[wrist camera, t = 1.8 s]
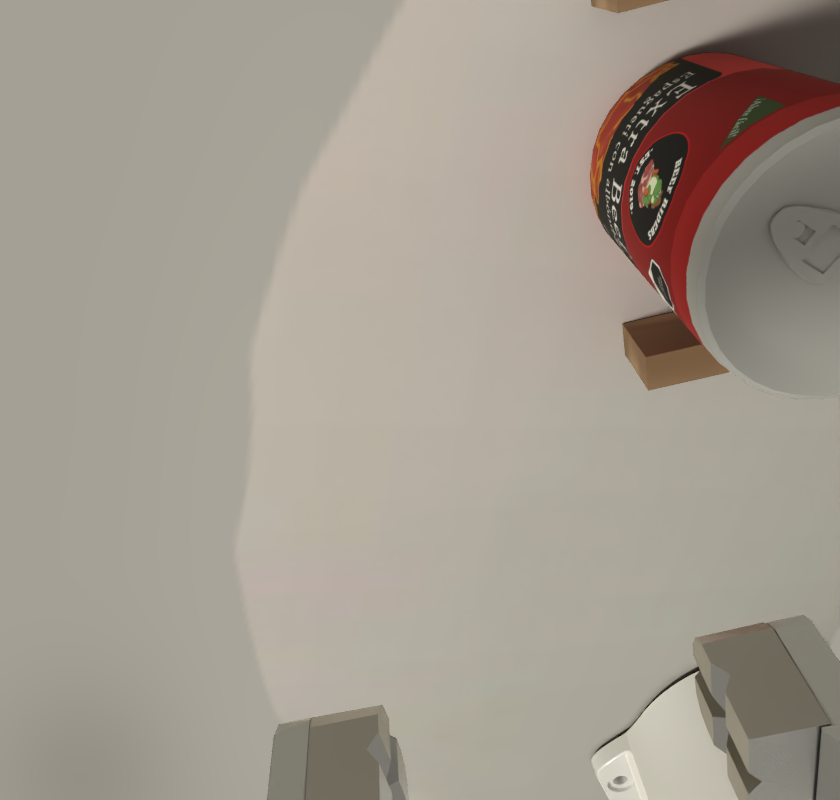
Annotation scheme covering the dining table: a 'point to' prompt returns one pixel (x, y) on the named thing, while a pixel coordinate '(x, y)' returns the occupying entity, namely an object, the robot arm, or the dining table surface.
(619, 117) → the canned food
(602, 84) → the dining table surface
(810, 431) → the dining table surface
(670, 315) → the bay
